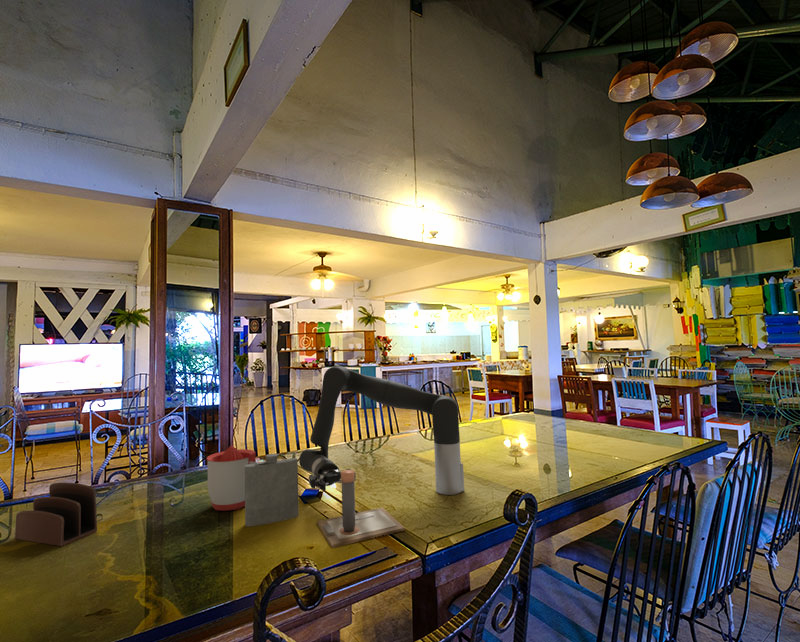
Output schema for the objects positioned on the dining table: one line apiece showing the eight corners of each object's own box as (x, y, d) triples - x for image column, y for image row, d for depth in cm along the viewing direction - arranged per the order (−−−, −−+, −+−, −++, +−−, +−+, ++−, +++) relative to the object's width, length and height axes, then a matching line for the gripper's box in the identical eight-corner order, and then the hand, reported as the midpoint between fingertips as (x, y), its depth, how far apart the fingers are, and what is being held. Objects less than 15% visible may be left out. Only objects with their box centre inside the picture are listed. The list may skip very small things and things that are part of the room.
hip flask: (297, 512, 134) (296, 449, 135) (300, 517, 130) (298, 452, 131) (244, 523, 127) (243, 456, 128) (246, 528, 123) (245, 459, 125)
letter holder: (51, 525, 131) (52, 479, 132) (97, 532, 125) (98, 484, 126) (14, 539, 122) (15, 490, 123) (61, 547, 116) (62, 495, 116)
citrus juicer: (251, 513, 135) (250, 450, 136) (197, 515, 135) (197, 452, 136) (267, 496, 150) (266, 439, 152) (219, 497, 151) (219, 441, 152)
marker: (353, 526, 120) (352, 469, 121) (357, 531, 116) (356, 472, 117) (340, 528, 118) (339, 471, 119) (344, 534, 115) (343, 474, 116)
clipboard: (382, 510, 133) (382, 505, 134) (404, 530, 118) (404, 524, 118) (317, 523, 125) (316, 518, 125) (332, 547, 109) (331, 541, 109)
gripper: (303, 462, 139) (314, 475, 124) (344, 456, 145) (360, 468, 130) (304, 485, 138) (315, 501, 124) (345, 478, 144) (361, 493, 129)
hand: (338, 484), depth 127 cm, fingers open, 8 cm apart
